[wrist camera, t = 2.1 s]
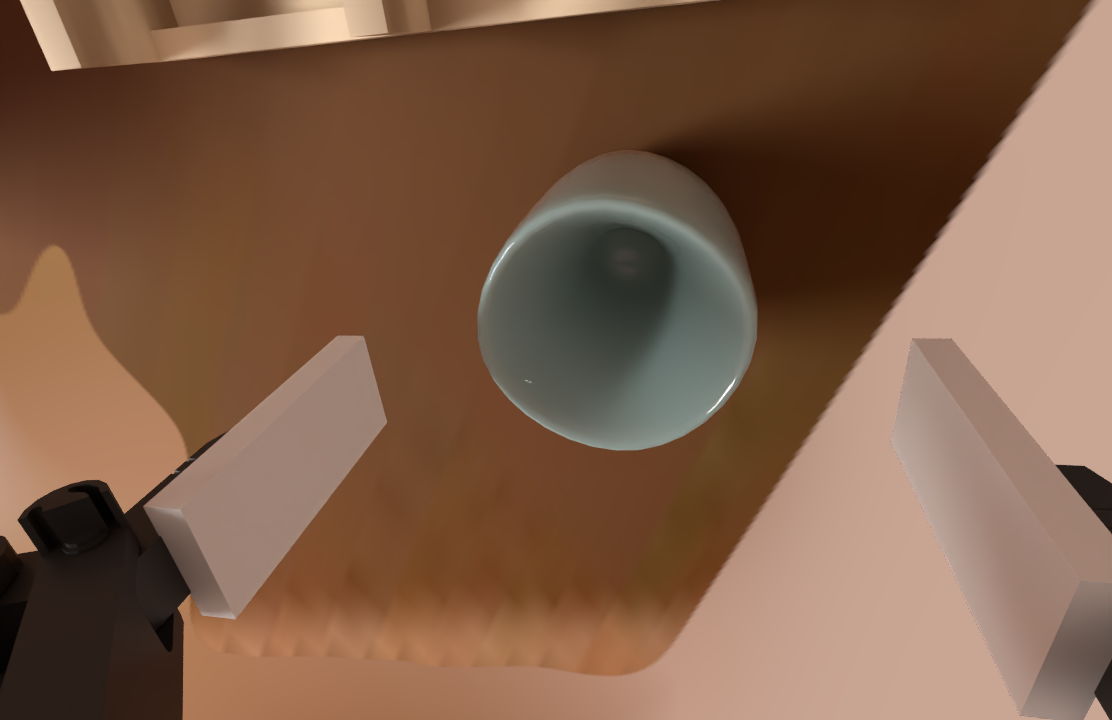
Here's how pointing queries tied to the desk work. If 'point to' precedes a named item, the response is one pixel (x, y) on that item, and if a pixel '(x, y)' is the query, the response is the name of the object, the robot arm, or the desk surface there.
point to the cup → (621, 304)
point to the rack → (266, 24)
